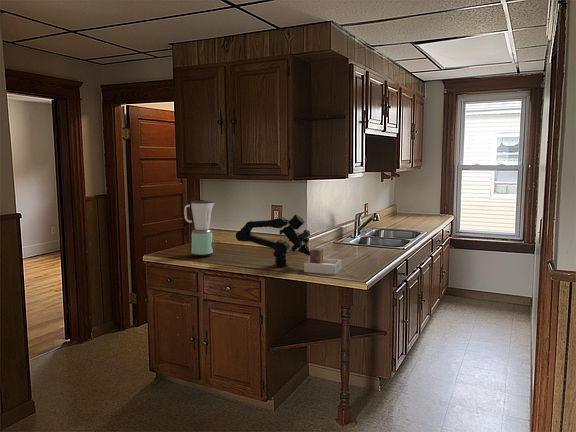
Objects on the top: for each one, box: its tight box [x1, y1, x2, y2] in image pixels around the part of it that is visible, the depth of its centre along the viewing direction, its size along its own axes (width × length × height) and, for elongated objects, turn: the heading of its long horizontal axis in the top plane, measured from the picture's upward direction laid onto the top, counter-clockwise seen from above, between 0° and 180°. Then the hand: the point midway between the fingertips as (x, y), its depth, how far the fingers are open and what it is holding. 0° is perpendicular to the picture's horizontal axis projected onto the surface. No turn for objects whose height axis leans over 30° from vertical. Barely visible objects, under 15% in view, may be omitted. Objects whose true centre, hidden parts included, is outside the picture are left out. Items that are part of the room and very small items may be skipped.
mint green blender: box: [183, 199, 216, 258], centre depth 302 cm, size 19×13×35 cm
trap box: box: [303, 258, 342, 275], centre depth 266 cm, size 17×15×5 cm
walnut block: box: [309, 247, 324, 264], centre depth 269 cm, size 6×6×8 cm
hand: (310, 255), depth 270 cm, fingers closed
